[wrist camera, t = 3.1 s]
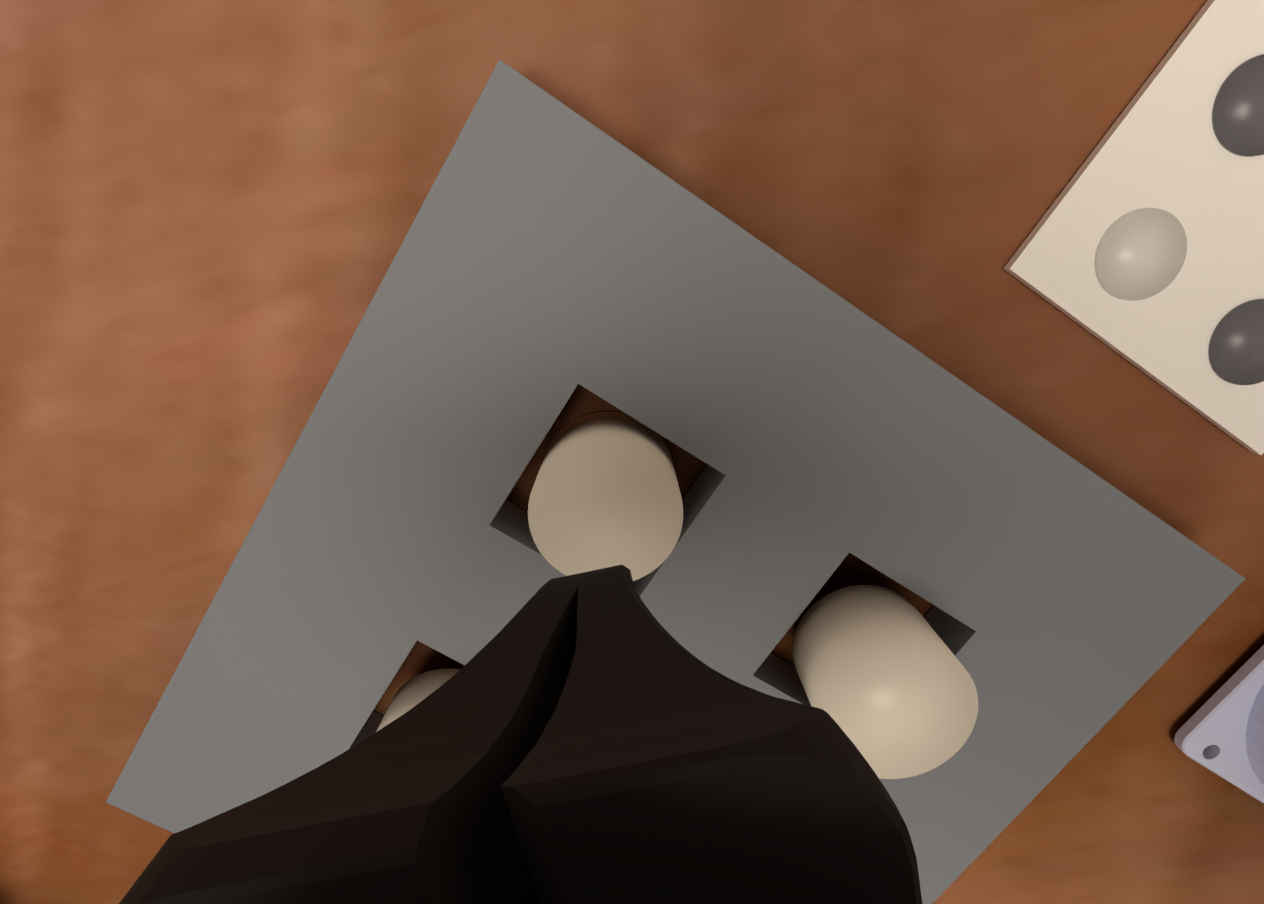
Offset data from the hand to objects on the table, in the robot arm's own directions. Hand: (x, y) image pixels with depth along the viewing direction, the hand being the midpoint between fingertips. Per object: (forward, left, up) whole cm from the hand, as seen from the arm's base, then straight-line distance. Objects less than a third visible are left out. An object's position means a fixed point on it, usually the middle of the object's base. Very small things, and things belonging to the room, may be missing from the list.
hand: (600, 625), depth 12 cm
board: (-4, +4, -8) cm, 10 cm away
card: (-10, -14, -8) cm, 19 cm away
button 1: (-8, 0, -6) cm, 10 cm away
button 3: (0, 0, -8) cm, 8 cm away
